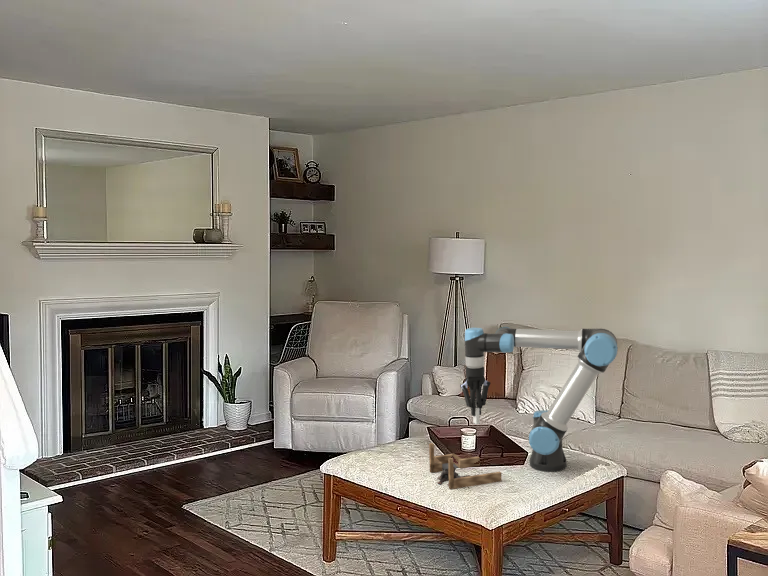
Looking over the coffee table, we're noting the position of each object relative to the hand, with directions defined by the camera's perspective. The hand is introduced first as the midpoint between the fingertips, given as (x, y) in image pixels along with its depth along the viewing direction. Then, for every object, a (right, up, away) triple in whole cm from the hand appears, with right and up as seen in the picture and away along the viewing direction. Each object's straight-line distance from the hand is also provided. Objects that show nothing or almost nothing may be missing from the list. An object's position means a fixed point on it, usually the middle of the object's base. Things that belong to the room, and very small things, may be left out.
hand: (476, 423), depth 315 cm
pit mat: (-11, -20, +9) cm, 24 cm away
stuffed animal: (-10, -22, -6) cm, 25 cm away
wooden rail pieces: (-6, -21, +1) cm, 22 cm away
